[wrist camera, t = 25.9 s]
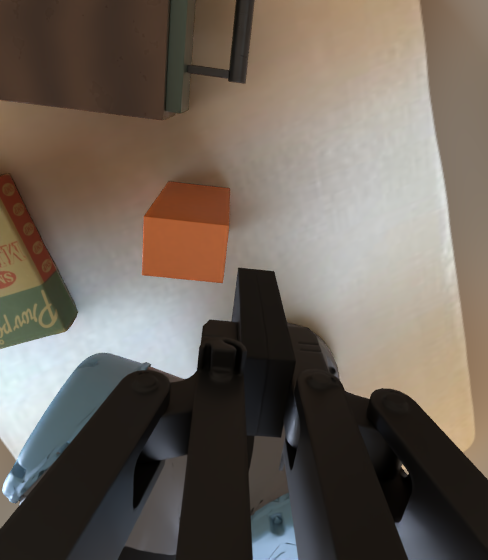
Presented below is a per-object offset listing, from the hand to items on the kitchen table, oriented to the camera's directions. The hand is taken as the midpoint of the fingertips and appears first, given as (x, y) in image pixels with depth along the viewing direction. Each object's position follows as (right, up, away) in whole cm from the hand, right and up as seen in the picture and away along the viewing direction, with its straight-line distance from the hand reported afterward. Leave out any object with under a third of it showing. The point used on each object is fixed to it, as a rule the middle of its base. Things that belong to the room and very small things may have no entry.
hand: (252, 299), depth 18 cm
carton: (-24, +3, +27) cm, 36 cm away
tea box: (-5, +8, +25) cm, 27 cm away
